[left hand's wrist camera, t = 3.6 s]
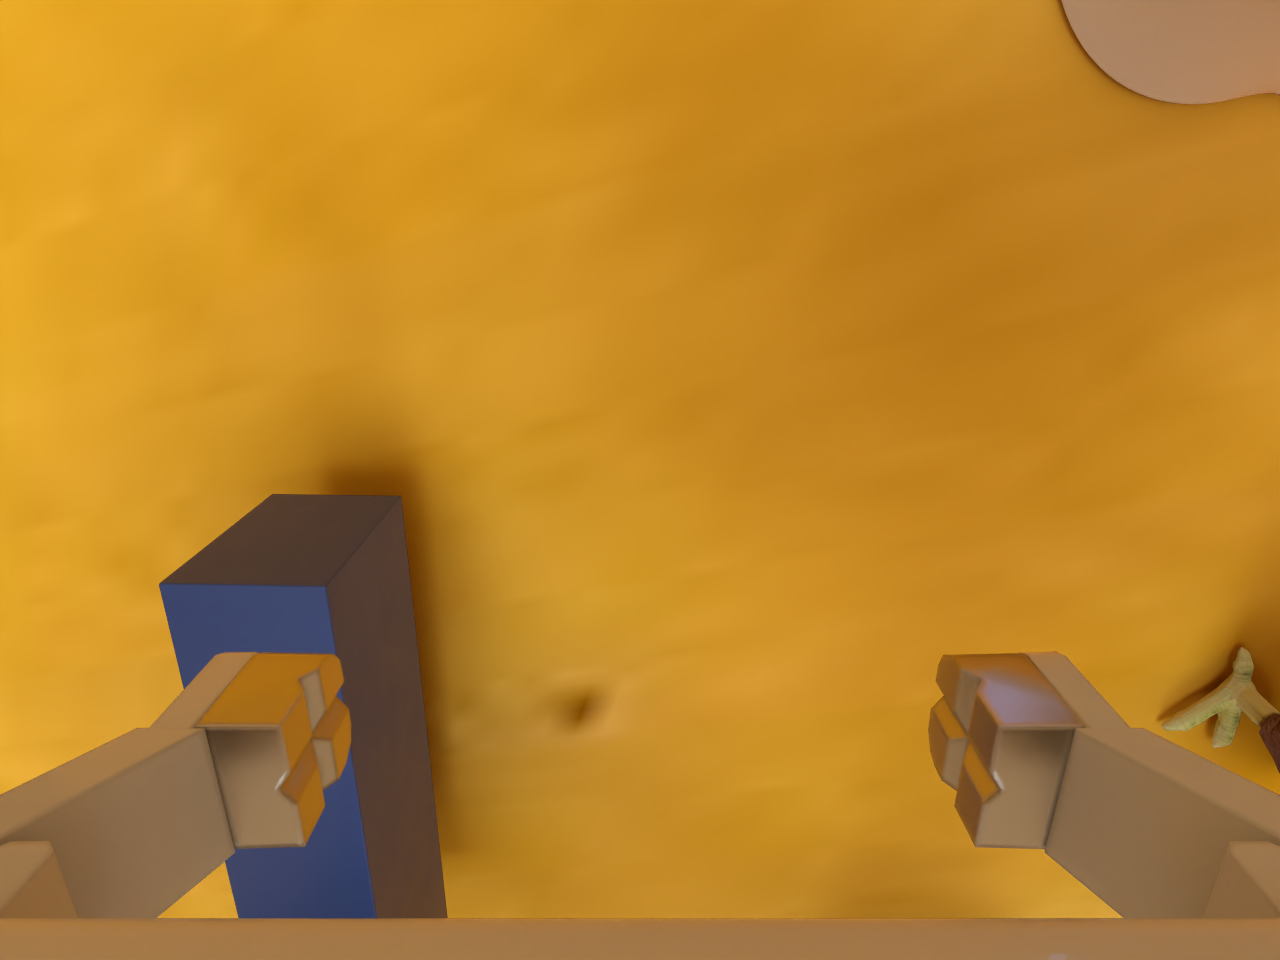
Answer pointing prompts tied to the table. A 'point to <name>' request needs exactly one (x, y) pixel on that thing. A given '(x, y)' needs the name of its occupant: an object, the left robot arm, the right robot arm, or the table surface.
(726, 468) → the table surface
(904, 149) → the table surface
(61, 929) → the left robot arm
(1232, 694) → the figurine
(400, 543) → the bar
